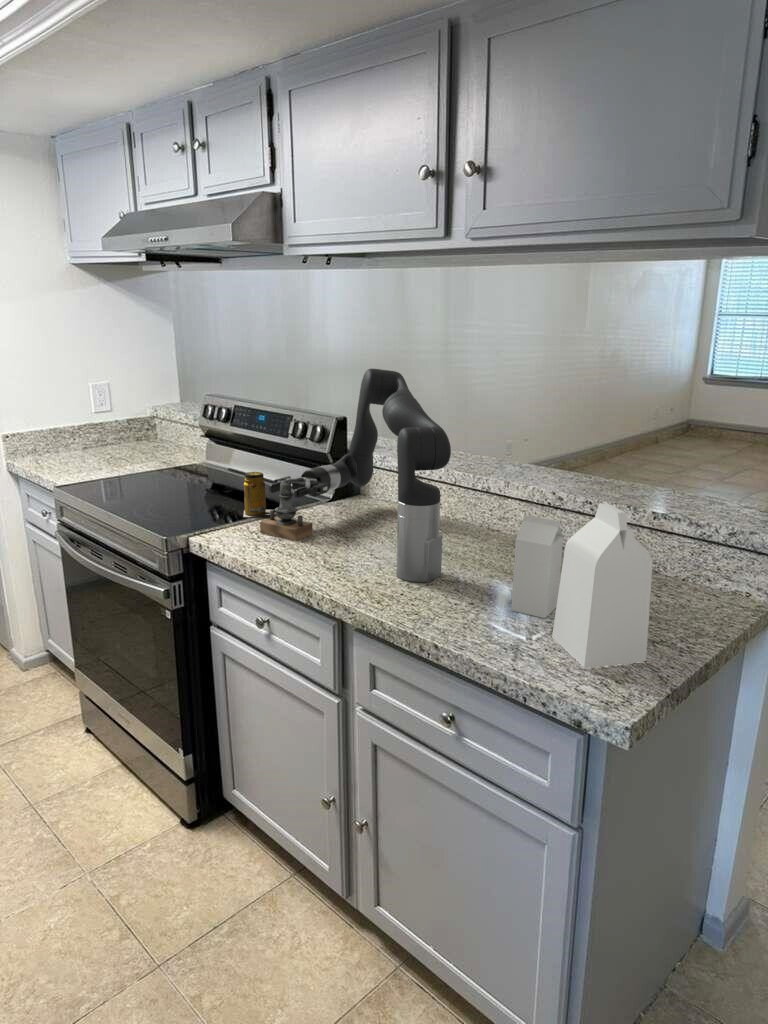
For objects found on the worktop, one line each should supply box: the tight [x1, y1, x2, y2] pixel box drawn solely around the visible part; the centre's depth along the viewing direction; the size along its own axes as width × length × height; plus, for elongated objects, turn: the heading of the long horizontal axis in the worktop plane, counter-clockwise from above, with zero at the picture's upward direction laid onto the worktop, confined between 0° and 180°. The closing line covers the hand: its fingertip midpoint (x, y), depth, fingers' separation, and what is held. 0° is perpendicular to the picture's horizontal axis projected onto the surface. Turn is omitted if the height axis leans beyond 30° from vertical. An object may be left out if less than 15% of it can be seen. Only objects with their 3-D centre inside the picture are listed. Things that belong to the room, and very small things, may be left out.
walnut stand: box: [259, 509, 313, 542], centre depth 189 cm, size 12×7×6 cm, turn 57°
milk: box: [551, 502, 653, 668], centre depth 123 cm, size 12×12×26 cm
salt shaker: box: [274, 478, 298, 525], centre depth 187 cm, size 6×6×12 cm
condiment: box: [243, 471, 271, 518], centre depth 206 cm, size 7×8×12 cm
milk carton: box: [510, 514, 564, 619], centre depth 141 cm, size 7×7×19 cm
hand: (282, 491), depth 186 cm, fingers open, 8 cm apart
